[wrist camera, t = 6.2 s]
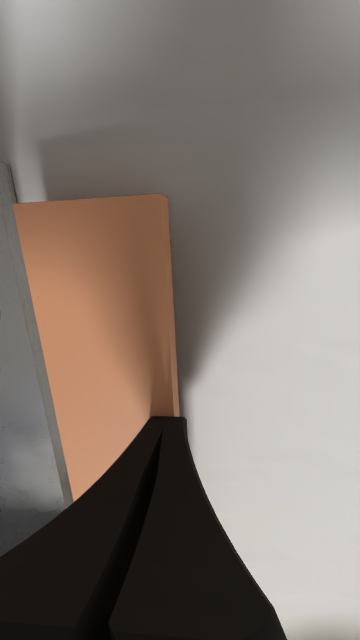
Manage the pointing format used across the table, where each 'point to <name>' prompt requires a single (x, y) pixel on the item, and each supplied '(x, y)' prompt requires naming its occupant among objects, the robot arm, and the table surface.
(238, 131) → the table surface
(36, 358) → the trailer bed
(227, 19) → the table surface
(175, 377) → the panel
